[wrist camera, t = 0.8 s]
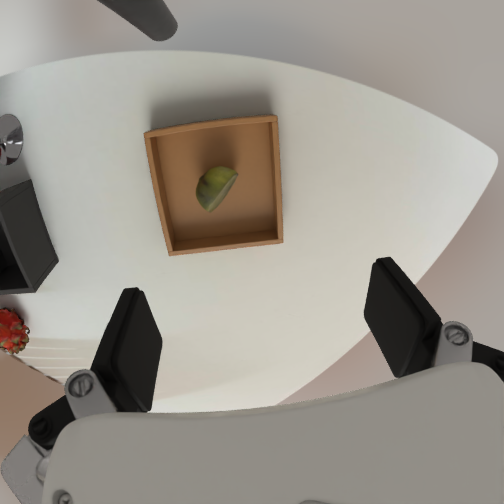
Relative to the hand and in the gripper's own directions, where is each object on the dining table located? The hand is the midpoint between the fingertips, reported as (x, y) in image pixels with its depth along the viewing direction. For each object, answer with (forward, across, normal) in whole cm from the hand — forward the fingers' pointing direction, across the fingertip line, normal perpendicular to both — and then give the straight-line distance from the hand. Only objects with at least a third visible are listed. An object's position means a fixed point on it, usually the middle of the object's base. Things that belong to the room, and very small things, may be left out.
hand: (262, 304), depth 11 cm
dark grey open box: (+22, +34, +2) cm, 40 cm away
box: (+22, +2, +1) cm, 22 cm away
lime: (+22, +2, +1) cm, 22 cm away
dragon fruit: (+22, +47, +19) cm, 55 cm away
